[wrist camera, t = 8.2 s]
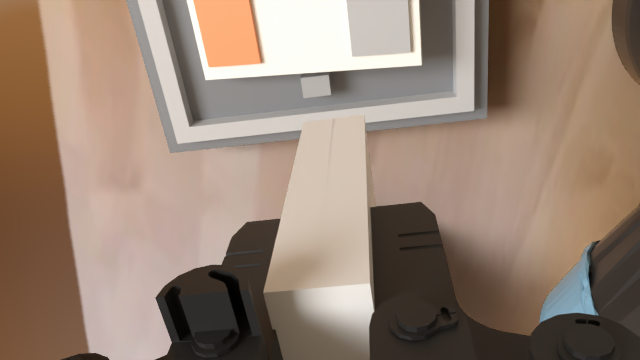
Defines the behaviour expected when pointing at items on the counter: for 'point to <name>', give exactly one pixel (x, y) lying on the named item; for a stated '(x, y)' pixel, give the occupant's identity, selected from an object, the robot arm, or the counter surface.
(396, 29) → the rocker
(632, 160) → the counter surface
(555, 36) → the counter surface
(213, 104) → the grey switch base
